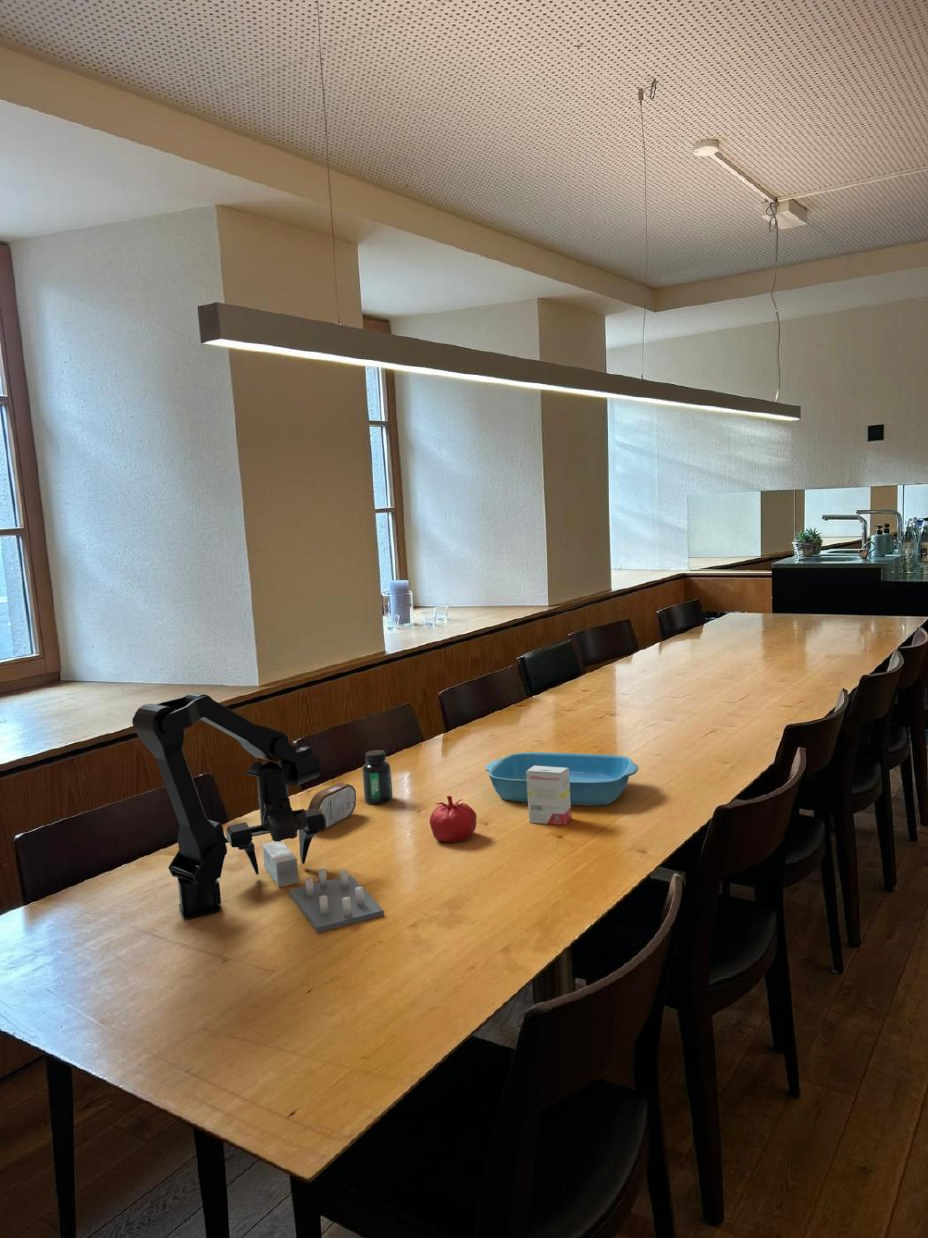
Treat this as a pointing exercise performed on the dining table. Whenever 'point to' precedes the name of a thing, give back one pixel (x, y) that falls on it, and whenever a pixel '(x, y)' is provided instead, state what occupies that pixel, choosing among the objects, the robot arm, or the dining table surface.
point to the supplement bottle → (377, 778)
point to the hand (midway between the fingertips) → (280, 868)
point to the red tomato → (453, 821)
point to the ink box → (548, 795)
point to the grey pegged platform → (335, 902)
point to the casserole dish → (587, 775)
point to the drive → (280, 863)
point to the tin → (335, 803)
